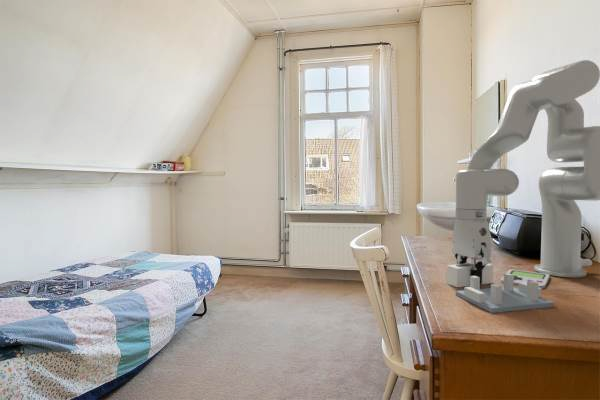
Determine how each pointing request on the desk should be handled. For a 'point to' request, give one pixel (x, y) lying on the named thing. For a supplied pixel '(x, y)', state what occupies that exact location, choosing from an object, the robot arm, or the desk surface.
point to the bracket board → (505, 295)
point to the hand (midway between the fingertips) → (469, 280)
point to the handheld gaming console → (528, 277)
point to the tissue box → (466, 274)
